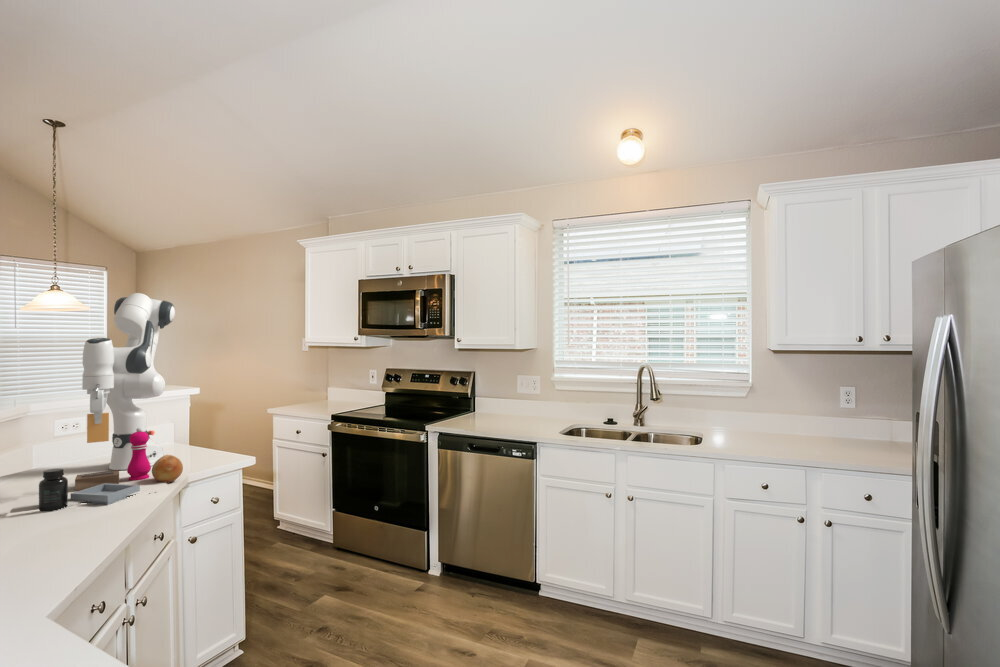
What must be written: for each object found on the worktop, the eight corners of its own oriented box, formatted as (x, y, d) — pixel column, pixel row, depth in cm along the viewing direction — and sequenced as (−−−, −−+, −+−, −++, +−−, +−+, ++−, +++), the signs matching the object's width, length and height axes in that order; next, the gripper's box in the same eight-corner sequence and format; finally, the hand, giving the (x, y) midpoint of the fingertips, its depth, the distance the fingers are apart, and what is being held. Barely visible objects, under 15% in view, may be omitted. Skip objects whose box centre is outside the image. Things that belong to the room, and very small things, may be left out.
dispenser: (77, 489, 183) (77, 473, 183) (119, 483, 190) (119, 468, 190) (75, 494, 176) (75, 478, 176) (118, 488, 183) (118, 472, 183)
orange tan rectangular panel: (87, 442, 181) (87, 414, 181) (108, 440, 185) (108, 412, 185) (87, 443, 180) (87, 414, 180) (108, 441, 184) (108, 412, 184)
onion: (144, 484, 188) (144, 457, 188) (170, 477, 197) (170, 451, 197) (163, 487, 185) (163, 459, 185) (189, 480, 194) (189, 453, 194)
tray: (104, 491, 179) (104, 483, 179) (139, 493, 177) (139, 484, 177) (70, 502, 167) (70, 493, 167) (107, 504, 165) (107, 495, 165)
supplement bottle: (44, 506, 164) (45, 468, 164) (71, 503, 166) (71, 466, 166) (34, 513, 157) (34, 473, 158) (62, 510, 160) (62, 471, 160)
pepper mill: (138, 484, 189) (138, 429, 189) (122, 483, 190) (122, 428, 190) (155, 478, 196) (155, 426, 196) (139, 477, 197) (139, 425, 197)
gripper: (108, 385, 176) (108, 426, 176) (110, 381, 193) (110, 418, 193) (84, 386, 172) (84, 427, 172) (89, 382, 189) (88, 420, 189)
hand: (98, 423), depth 183 cm, fingers closed on orange tan rectangular panel, 1 cm apart
